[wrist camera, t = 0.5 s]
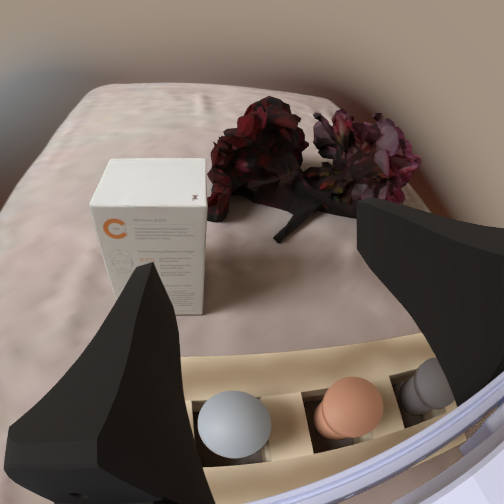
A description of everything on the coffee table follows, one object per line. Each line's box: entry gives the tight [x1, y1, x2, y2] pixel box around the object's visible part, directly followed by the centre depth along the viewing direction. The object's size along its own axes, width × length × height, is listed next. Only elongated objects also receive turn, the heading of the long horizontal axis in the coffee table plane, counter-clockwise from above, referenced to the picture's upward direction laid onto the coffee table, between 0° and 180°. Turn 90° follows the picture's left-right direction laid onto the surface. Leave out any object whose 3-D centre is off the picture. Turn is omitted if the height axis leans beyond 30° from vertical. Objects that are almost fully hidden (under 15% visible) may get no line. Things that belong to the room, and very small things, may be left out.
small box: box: [89, 158, 208, 315], centre depth 26 cm, size 8×6×13 cm
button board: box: [181, 333, 467, 504], centre depth 22 cm, size 12×24×4 cm, turn 98°
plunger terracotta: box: [314, 376, 383, 440], centre depth 19 cm, size 4×4×4 cm
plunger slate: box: [198, 391, 271, 459], centre depth 18 cm, size 4×4×4 cm
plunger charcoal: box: [399, 358, 455, 416], centre depth 21 cm, size 4×4×4 cm
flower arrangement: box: [207, 96, 422, 243], centre depth 40 cm, size 31×20×15 cm, turn 100°
